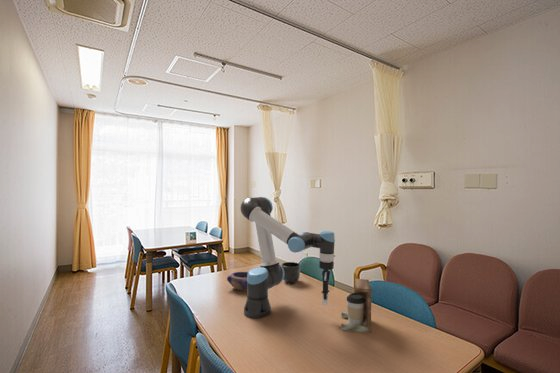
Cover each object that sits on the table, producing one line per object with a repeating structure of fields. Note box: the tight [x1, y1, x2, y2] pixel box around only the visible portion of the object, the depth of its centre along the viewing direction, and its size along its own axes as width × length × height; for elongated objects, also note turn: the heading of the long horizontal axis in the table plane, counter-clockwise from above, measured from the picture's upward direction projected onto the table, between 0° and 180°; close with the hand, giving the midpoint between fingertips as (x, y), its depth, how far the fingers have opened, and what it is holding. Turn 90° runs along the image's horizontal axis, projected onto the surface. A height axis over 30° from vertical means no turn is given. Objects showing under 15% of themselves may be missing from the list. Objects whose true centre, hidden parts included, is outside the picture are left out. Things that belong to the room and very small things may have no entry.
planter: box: [280, 261, 301, 285], centre depth 206 cm, size 14×14×13 cm
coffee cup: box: [346, 292, 365, 326], centre depth 142 cm, size 9×9×15 cm
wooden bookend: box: [340, 278, 372, 334], centre depth 143 cm, size 14×14×21 cm
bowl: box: [226, 271, 249, 291], centre depth 193 cm, size 18×18×10 cm
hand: (325, 304), depth 148 cm, fingers closed
